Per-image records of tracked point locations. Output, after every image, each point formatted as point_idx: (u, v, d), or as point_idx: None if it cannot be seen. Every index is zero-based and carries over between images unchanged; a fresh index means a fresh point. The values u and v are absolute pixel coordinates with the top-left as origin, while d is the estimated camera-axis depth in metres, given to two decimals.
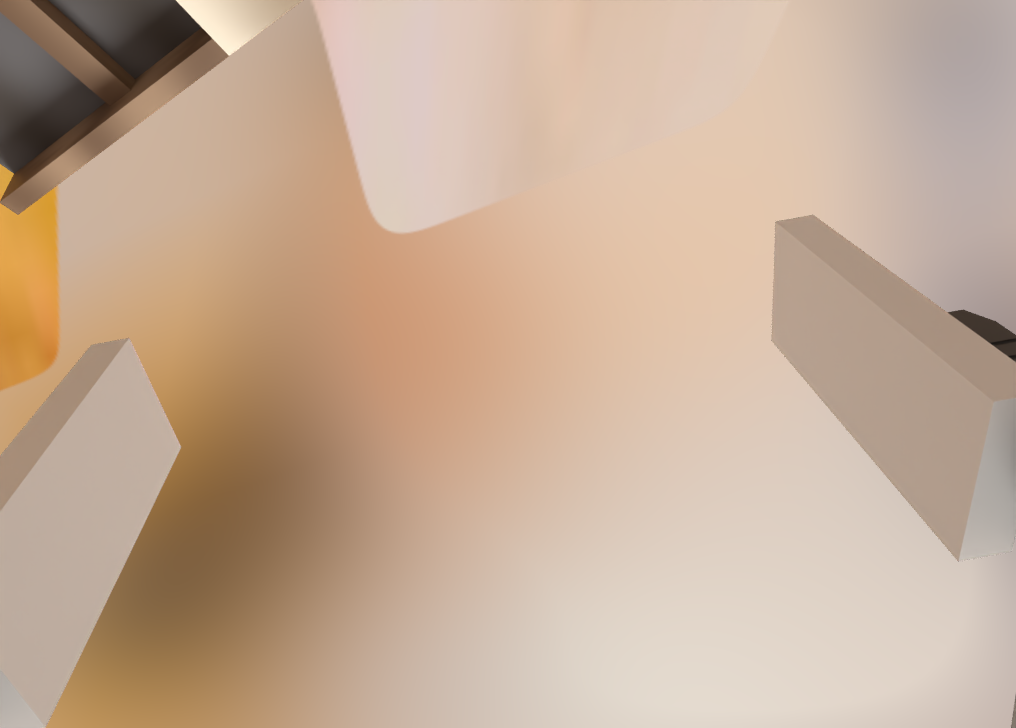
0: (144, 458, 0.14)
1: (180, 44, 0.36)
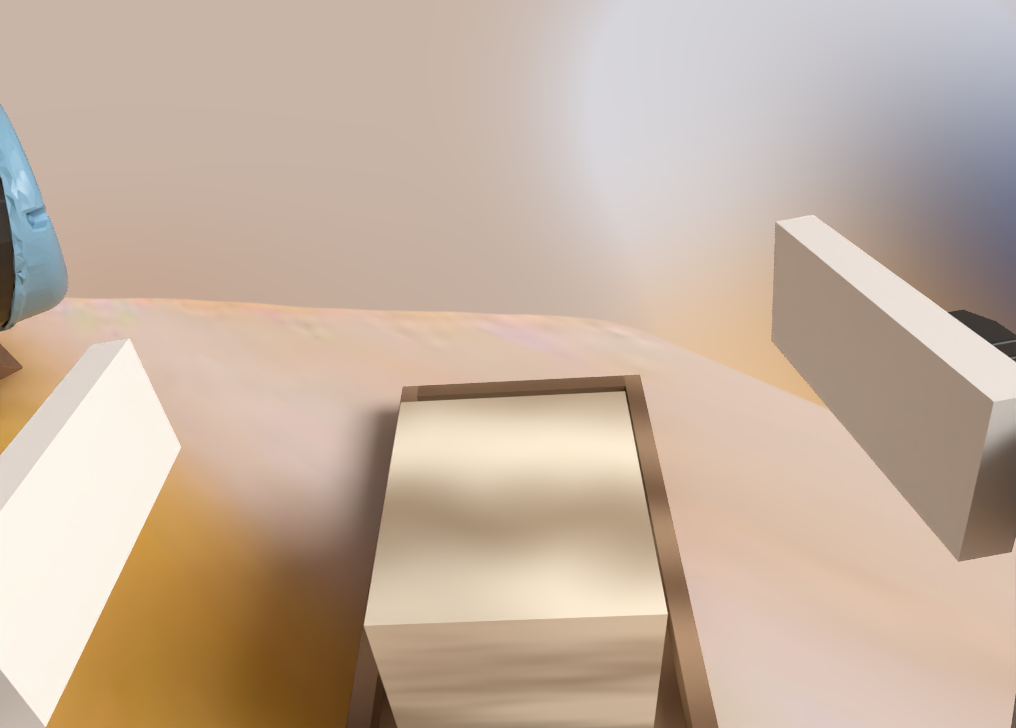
0: (144, 458, 0.14)
1: None
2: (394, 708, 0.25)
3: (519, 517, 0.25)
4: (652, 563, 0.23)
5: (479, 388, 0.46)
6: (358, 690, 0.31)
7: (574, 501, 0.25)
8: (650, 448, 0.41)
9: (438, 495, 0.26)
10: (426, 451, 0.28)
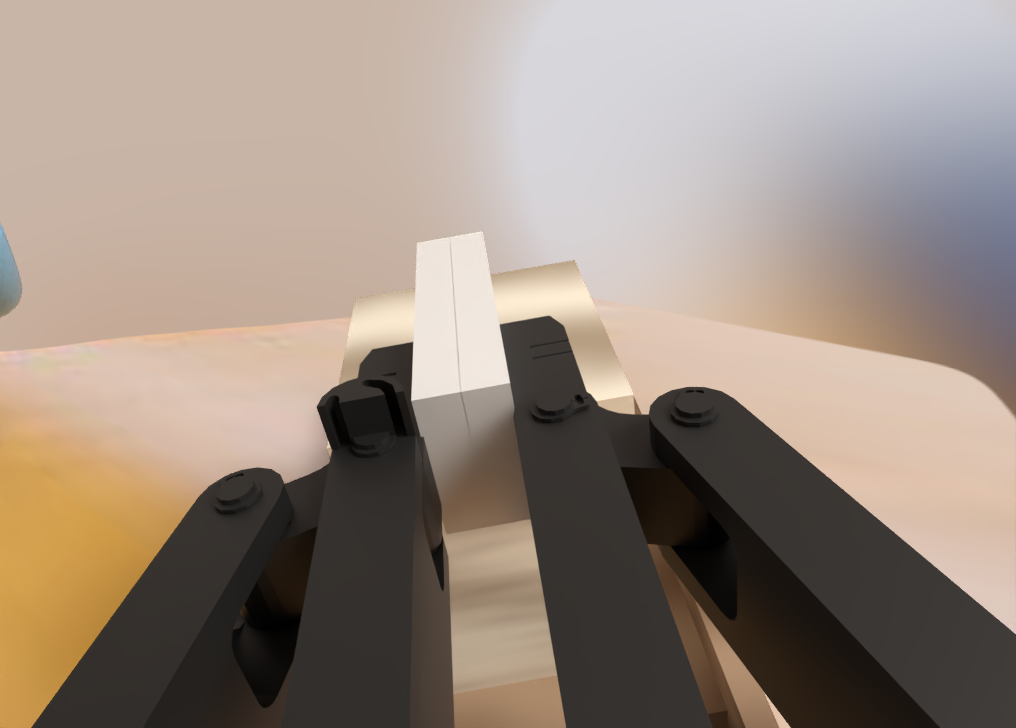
0: None
1: None
2: None
3: None
4: (614, 364, 0.23)
5: None
6: None
7: None
8: None
9: None
10: (383, 325, 0.27)
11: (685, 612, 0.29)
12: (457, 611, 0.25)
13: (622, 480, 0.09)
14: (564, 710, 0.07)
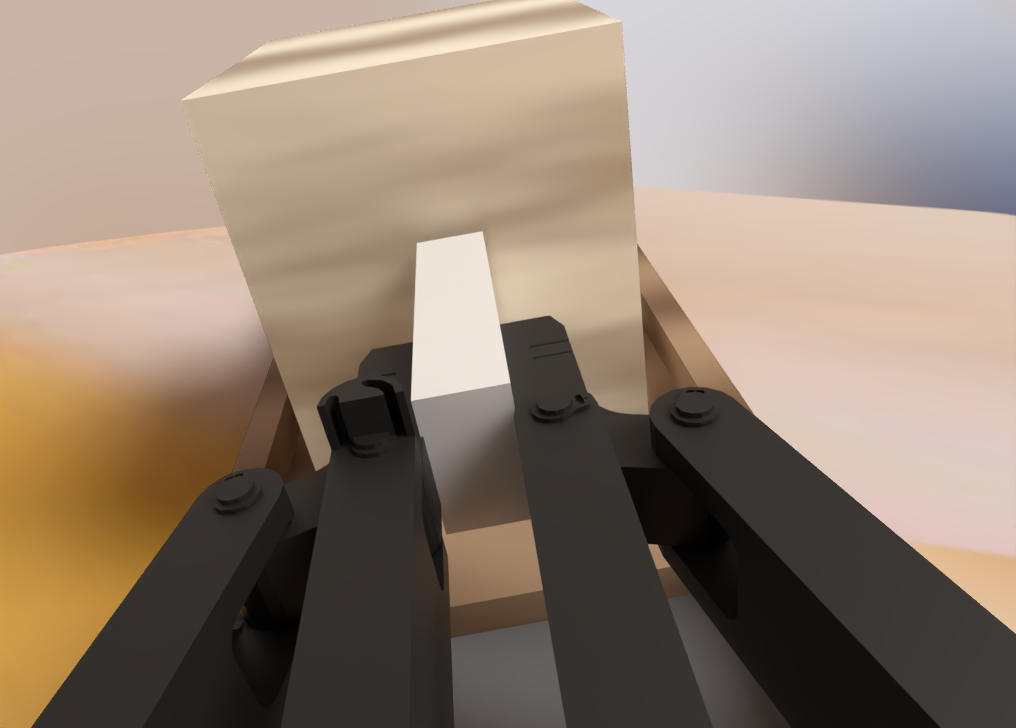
0: None
1: None
2: (265, 321, 0.17)
3: (413, 37, 0.18)
4: (595, 15, 0.16)
5: None
6: (247, 452, 0.23)
7: (487, 21, 0.19)
8: None
9: (307, 50, 0.19)
10: (297, 44, 0.21)
11: None
12: None
13: (622, 480, 0.09)
14: (564, 710, 0.07)
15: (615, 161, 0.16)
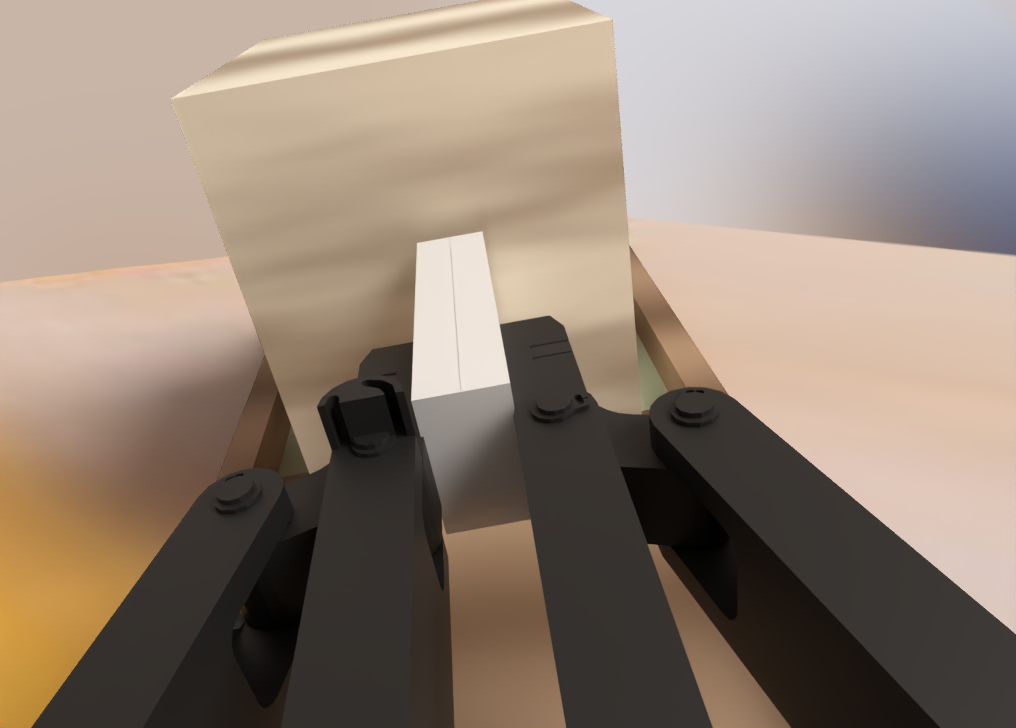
0: None
1: None
2: (257, 320, 0.17)
3: (405, 35, 0.18)
4: (587, 13, 0.16)
5: None
6: None
7: (480, 19, 0.19)
8: (641, 277, 0.29)
9: (299, 49, 0.19)
10: (290, 43, 0.21)
11: None
12: None
13: (622, 480, 0.09)
14: (564, 710, 0.07)
15: (607, 159, 0.16)
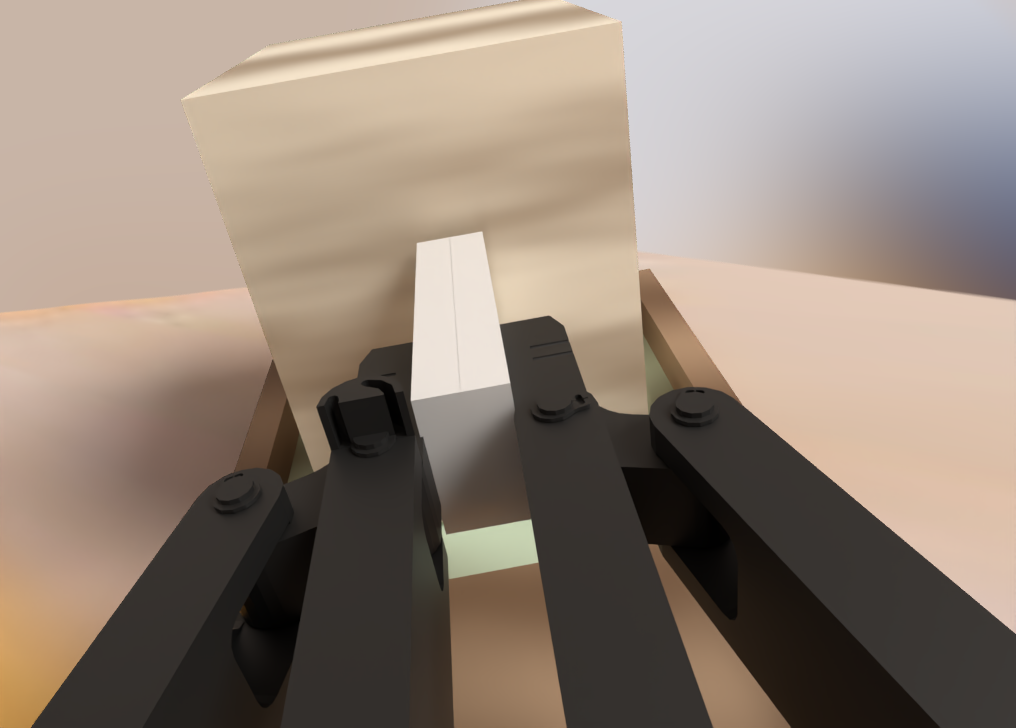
0: None
1: None
2: (264, 321, 0.17)
3: (413, 39, 0.18)
4: (595, 16, 0.16)
5: None
6: None
7: (487, 23, 0.19)
8: (692, 348, 0.24)
9: (307, 53, 0.19)
10: (297, 47, 0.21)
11: None
12: None
13: (623, 480, 0.09)
14: (565, 710, 0.07)
15: (615, 161, 0.16)
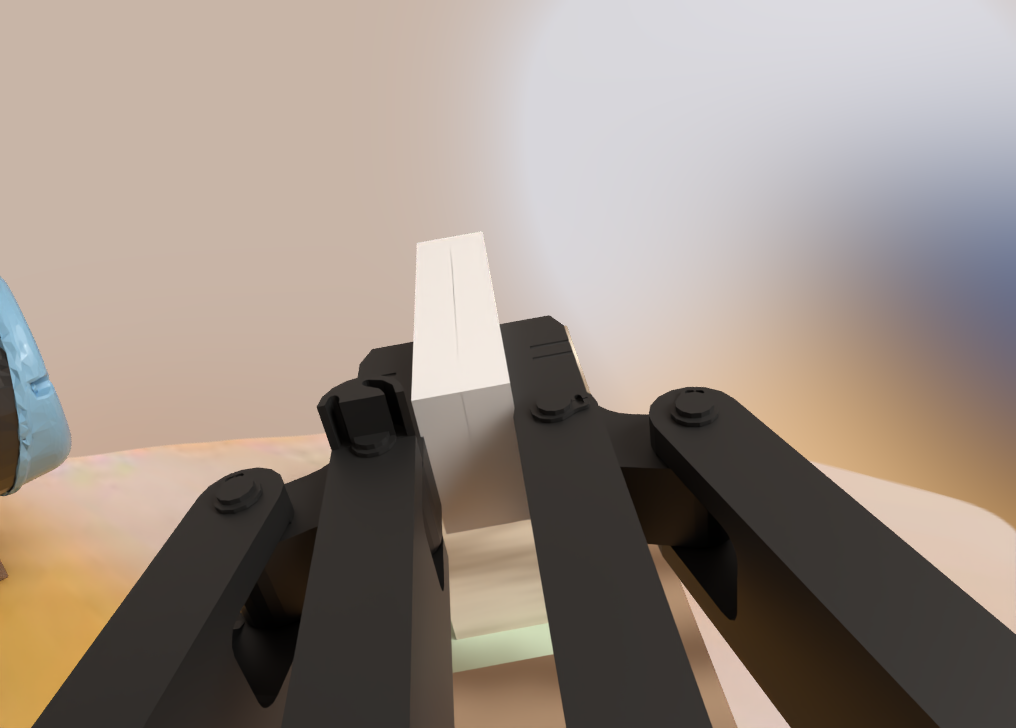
0: None
1: None
2: None
3: None
4: None
5: None
6: None
7: None
8: None
9: None
10: None
11: None
12: (487, 573, 0.37)
13: (622, 480, 0.09)
14: (564, 710, 0.07)
15: None
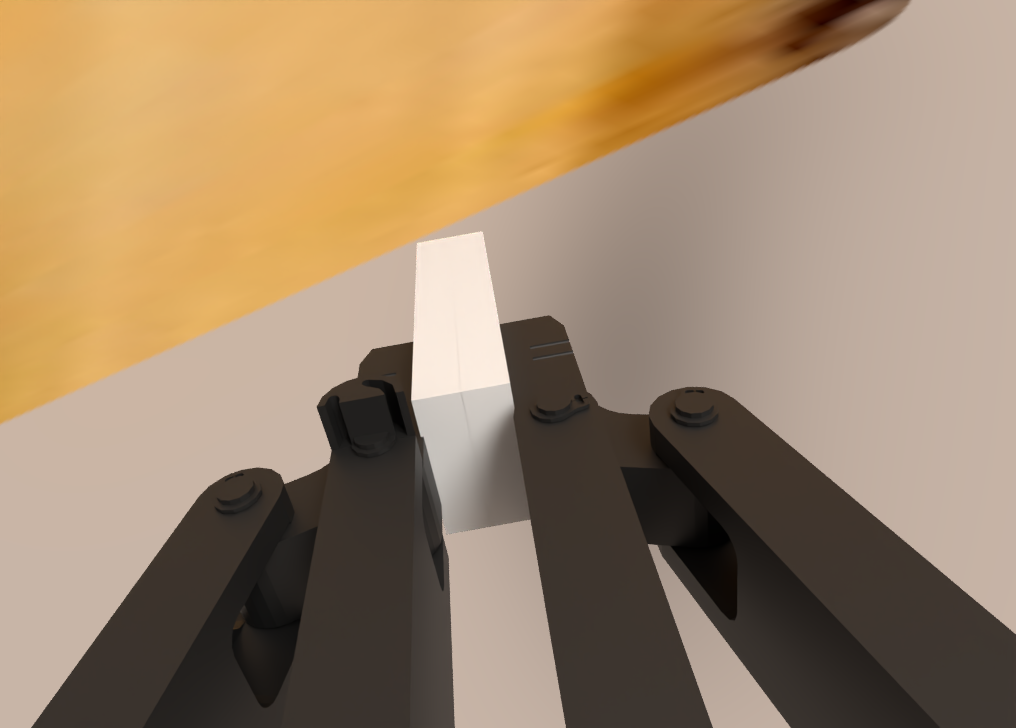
0: None
1: None
2: None
3: None
4: None
5: None
6: None
7: None
8: None
9: None
10: None
11: None
12: None
13: (622, 480, 0.09)
14: (564, 710, 0.07)
15: None
